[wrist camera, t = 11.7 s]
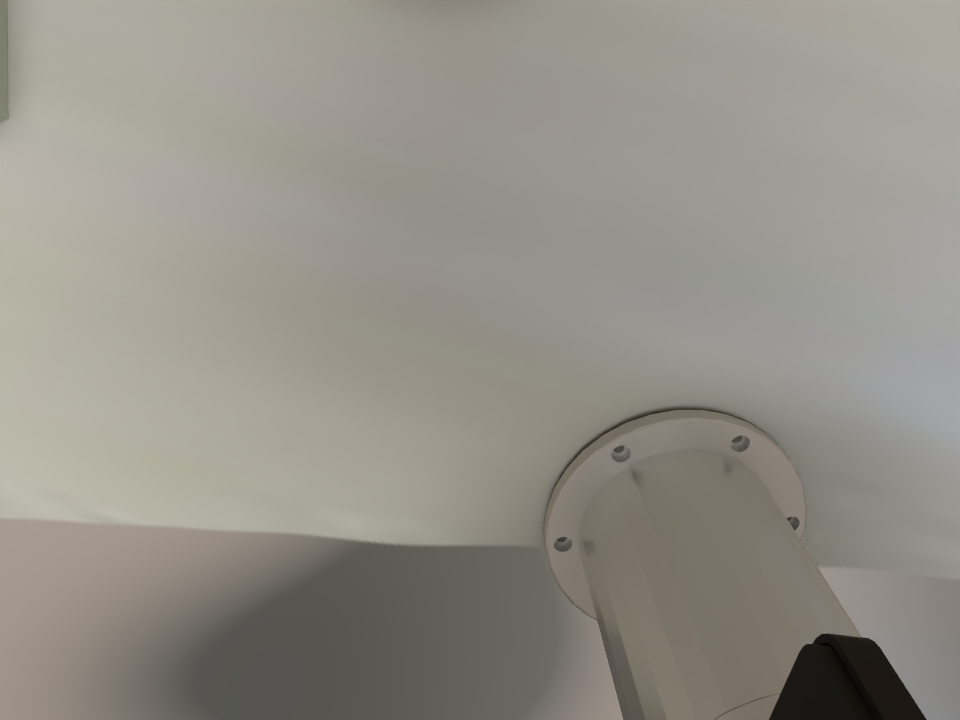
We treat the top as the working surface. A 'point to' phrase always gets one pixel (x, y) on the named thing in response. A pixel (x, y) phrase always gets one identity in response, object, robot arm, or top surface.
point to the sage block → (3, 61)
